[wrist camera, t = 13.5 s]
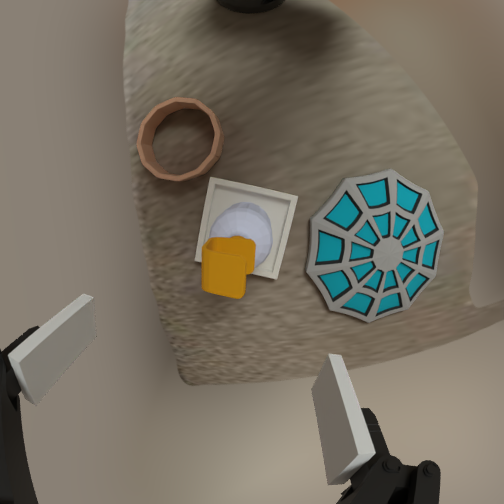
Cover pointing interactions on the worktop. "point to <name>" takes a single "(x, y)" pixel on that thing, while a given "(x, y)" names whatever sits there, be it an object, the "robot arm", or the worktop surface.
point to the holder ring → (152, 123)
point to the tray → (269, 200)
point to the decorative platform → (374, 245)
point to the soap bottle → (235, 249)
